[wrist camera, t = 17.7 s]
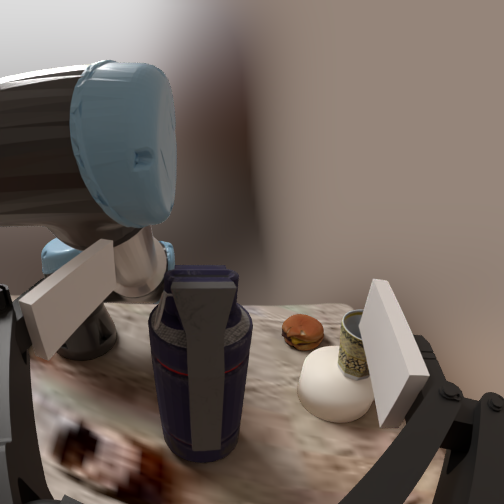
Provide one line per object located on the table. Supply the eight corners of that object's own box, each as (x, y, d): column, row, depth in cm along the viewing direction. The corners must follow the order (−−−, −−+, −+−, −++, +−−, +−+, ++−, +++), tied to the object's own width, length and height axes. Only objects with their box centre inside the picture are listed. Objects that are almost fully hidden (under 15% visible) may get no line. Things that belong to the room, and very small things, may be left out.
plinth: (282, 380, 60) (287, 358, 57) (340, 359, 66) (347, 338, 64) (327, 434, 48) (337, 413, 45) (385, 402, 54) (397, 381, 52)
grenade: (163, 410, 49) (148, 248, 38) (231, 407, 52) (246, 249, 40) (166, 478, 37) (137, 315, 25) (247, 473, 40) (277, 313, 28)
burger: (315, 326, 78) (319, 310, 76) (326, 350, 69) (331, 334, 68) (276, 326, 76) (279, 310, 75) (284, 352, 68) (287, 335, 66)
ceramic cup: (320, 355, 58) (332, 312, 55) (363, 348, 61) (377, 306, 57) (351, 404, 47) (370, 360, 43) (397, 391, 50) (418, 348, 46)
